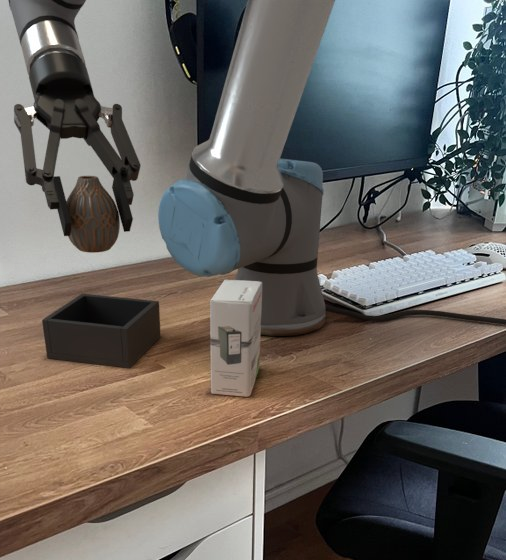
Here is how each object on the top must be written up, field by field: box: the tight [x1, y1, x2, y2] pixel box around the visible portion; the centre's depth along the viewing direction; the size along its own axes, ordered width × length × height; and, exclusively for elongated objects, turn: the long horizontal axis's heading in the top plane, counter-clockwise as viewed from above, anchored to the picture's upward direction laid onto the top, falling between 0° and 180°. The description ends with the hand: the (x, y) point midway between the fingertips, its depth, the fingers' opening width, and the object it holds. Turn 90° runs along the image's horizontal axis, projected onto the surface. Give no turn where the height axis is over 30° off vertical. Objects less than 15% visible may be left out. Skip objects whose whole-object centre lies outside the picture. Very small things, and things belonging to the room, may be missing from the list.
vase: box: [66, 175, 121, 254], centre depth 87 cm, size 7×7×9 cm
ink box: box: [209, 279, 262, 398], centre depth 83 cm, size 9×5×12 cm, turn 171°
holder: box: [41, 293, 162, 369], centre depth 93 cm, size 12×12×5 cm
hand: (98, 227), depth 85 cm, fingers closed on vase, 7 cm apart
